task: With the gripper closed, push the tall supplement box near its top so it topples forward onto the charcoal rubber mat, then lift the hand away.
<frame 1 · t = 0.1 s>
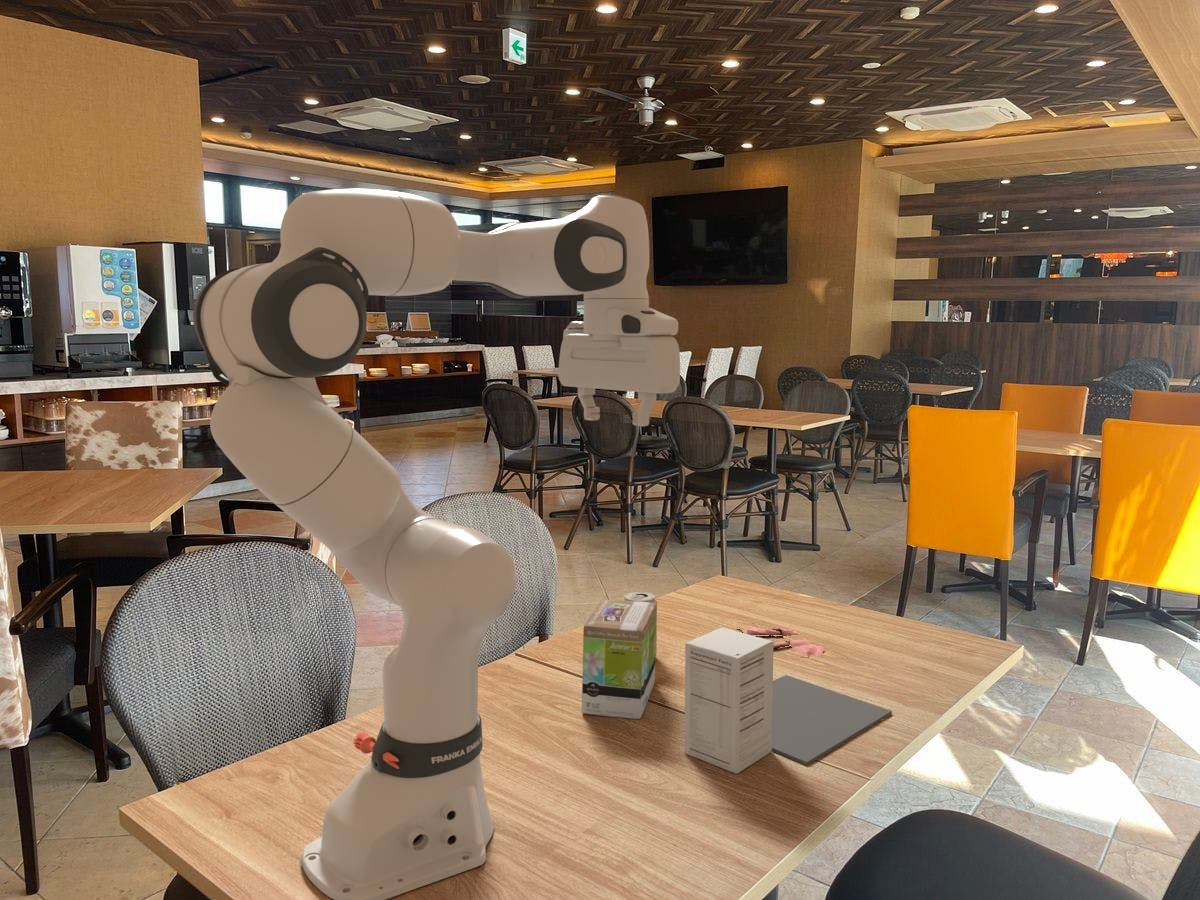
hand: (615, 422, 122), 48 cm above the table, tool pointing down, fingers open, 8 cm apart
supplement box: (727, 754, 129), on the table
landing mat: (795, 716, 140), on the table
tea box: (620, 699, 147), on the table
cloth: (768, 644, 174), on the table
beverage can: (639, 659, 164), on the table
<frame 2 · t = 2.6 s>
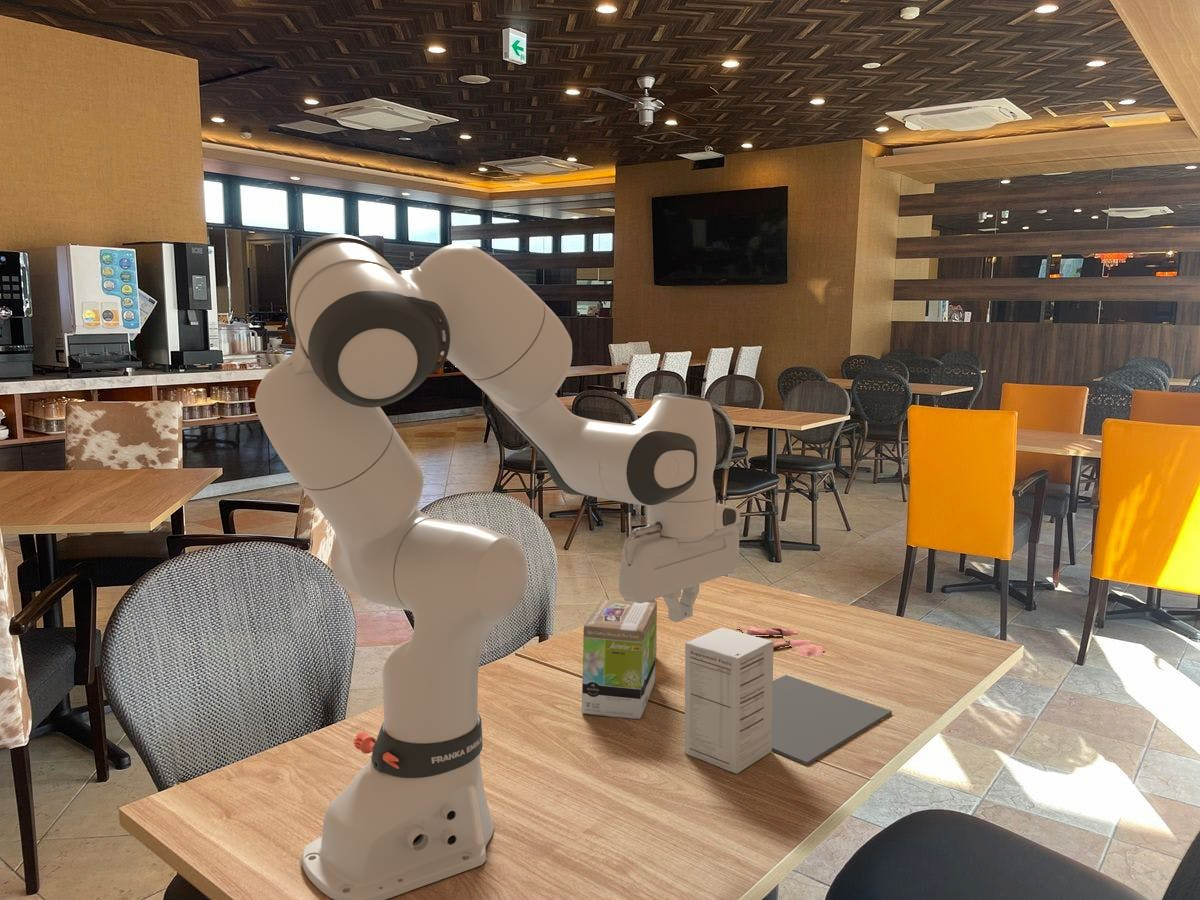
hand: (680, 618, 118), 23 cm above the table, tool pointing down, fingers closed
nothing on the table moved.
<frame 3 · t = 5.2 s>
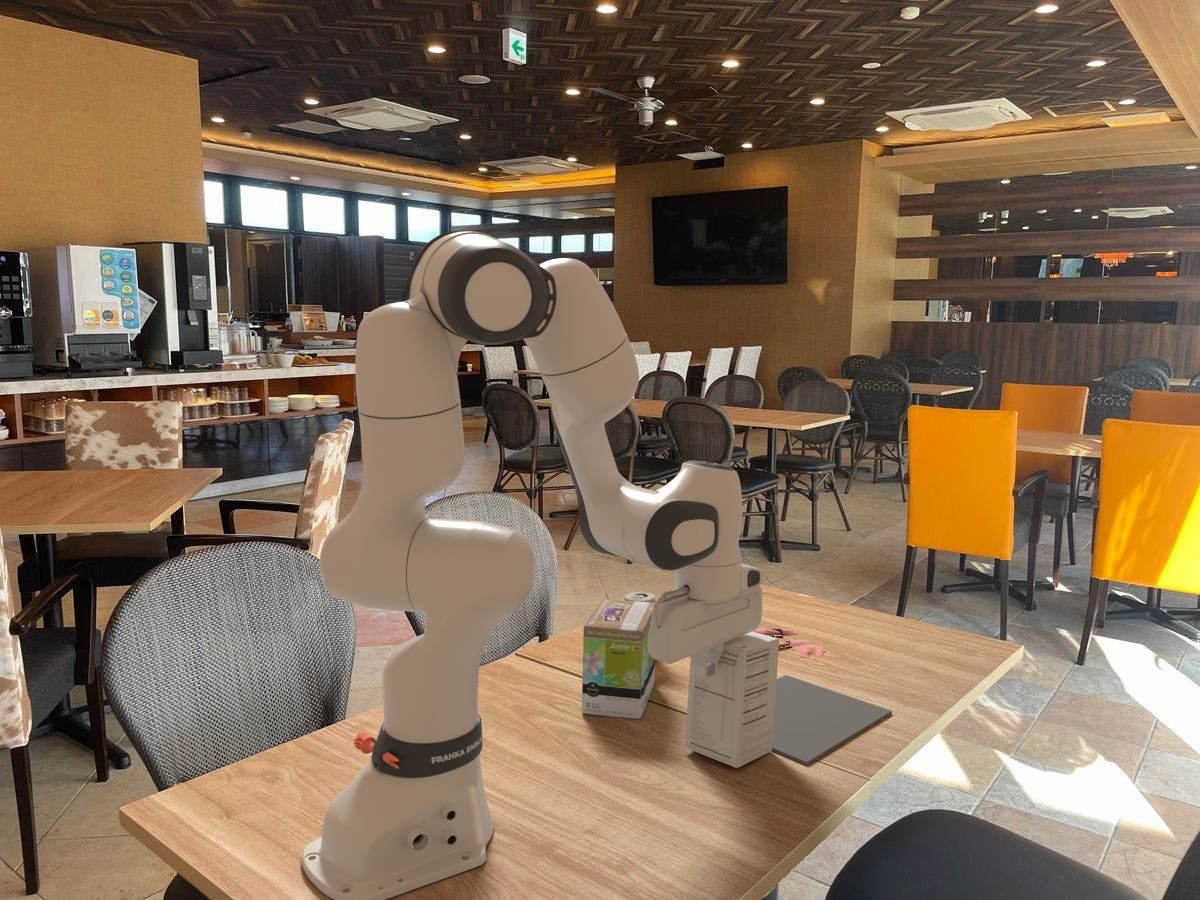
hand: (705, 675, 123), 13 cm above the table, tool pointing down, fingers closed
supplement box: (727, 751, 128), on the table, touching gripper
everything else where it was.
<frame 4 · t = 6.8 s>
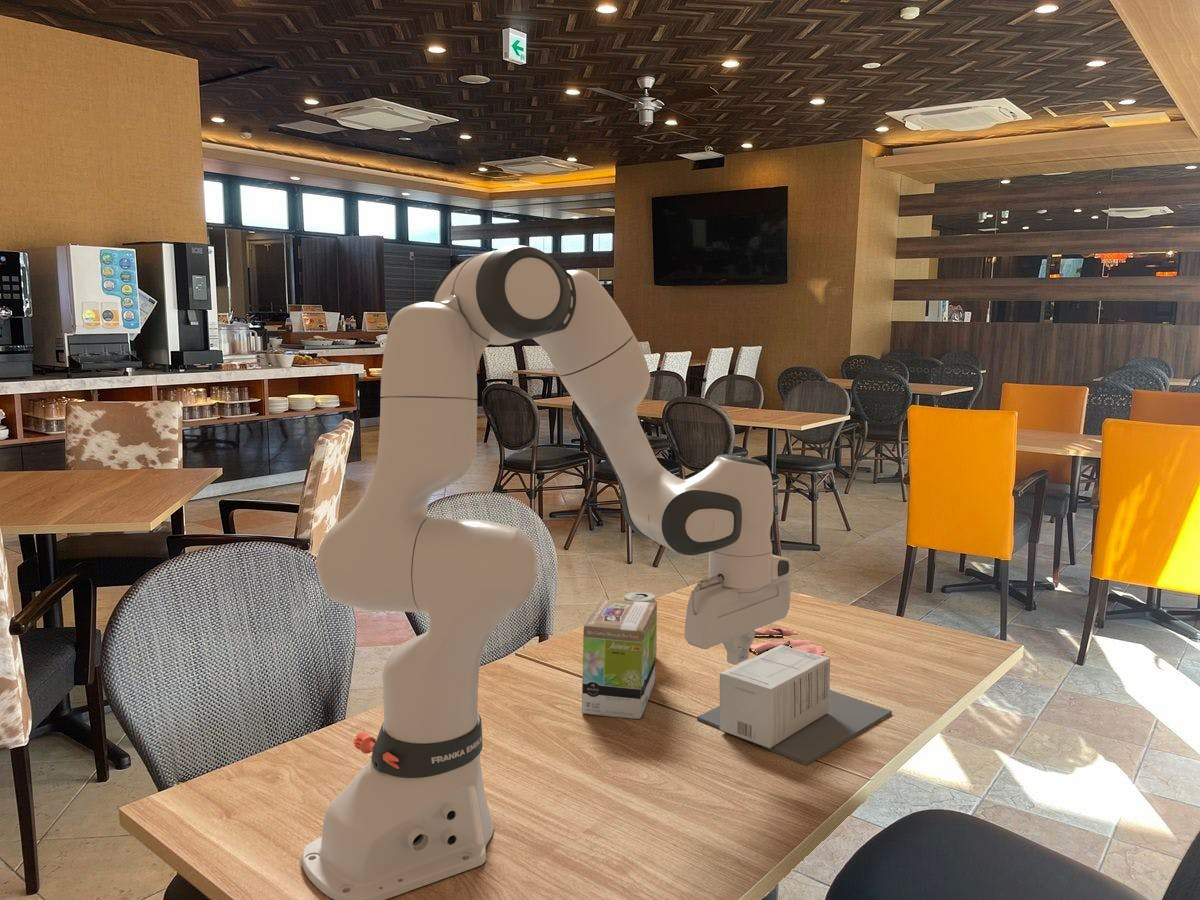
hand: (737, 661, 128), 13 cm above the table, tool pointing down, fingers closed
supplement box: (743, 710, 131), point 5 cm above the table, touching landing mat
everything else where it was.
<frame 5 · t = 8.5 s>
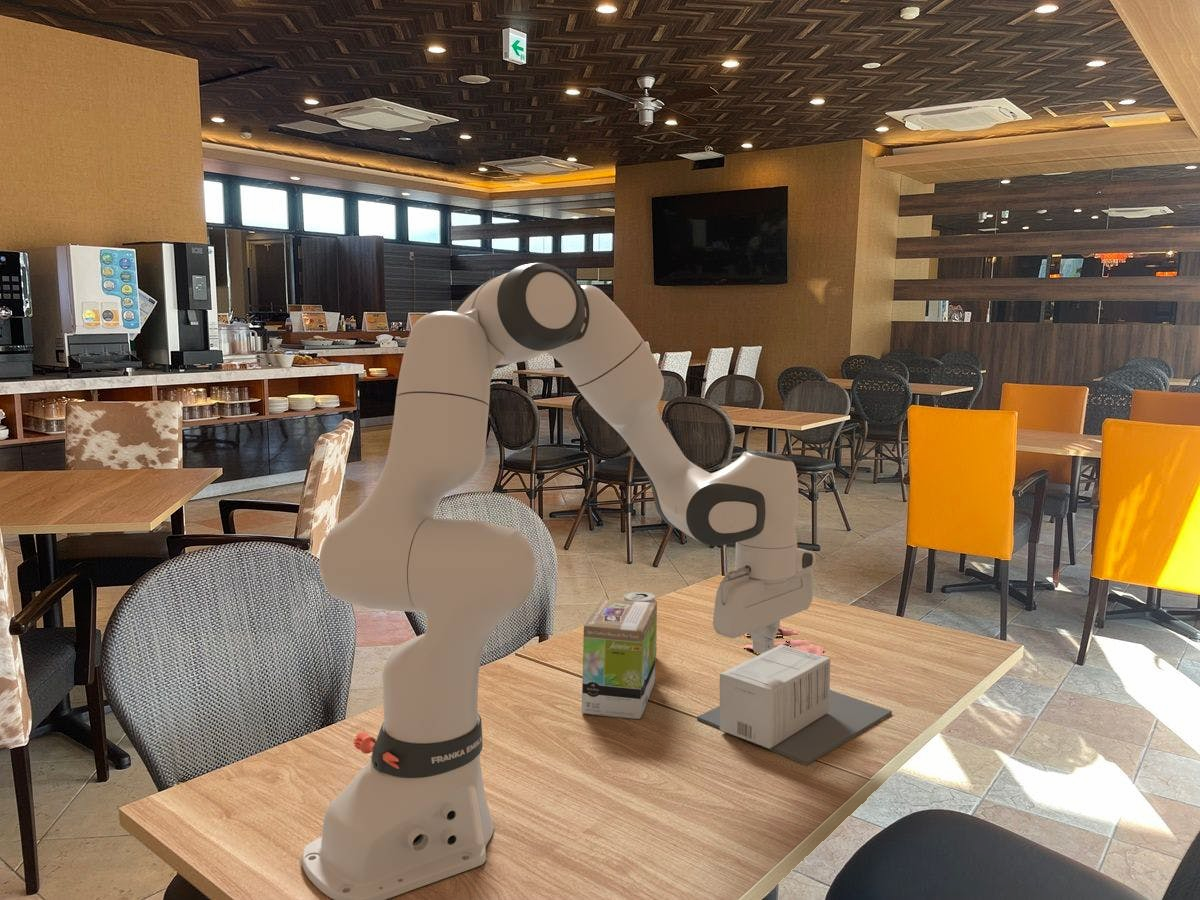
hand: (763, 650, 132), 13 cm above the table, tool pointing down, fingers closed
nothing on the table moved.
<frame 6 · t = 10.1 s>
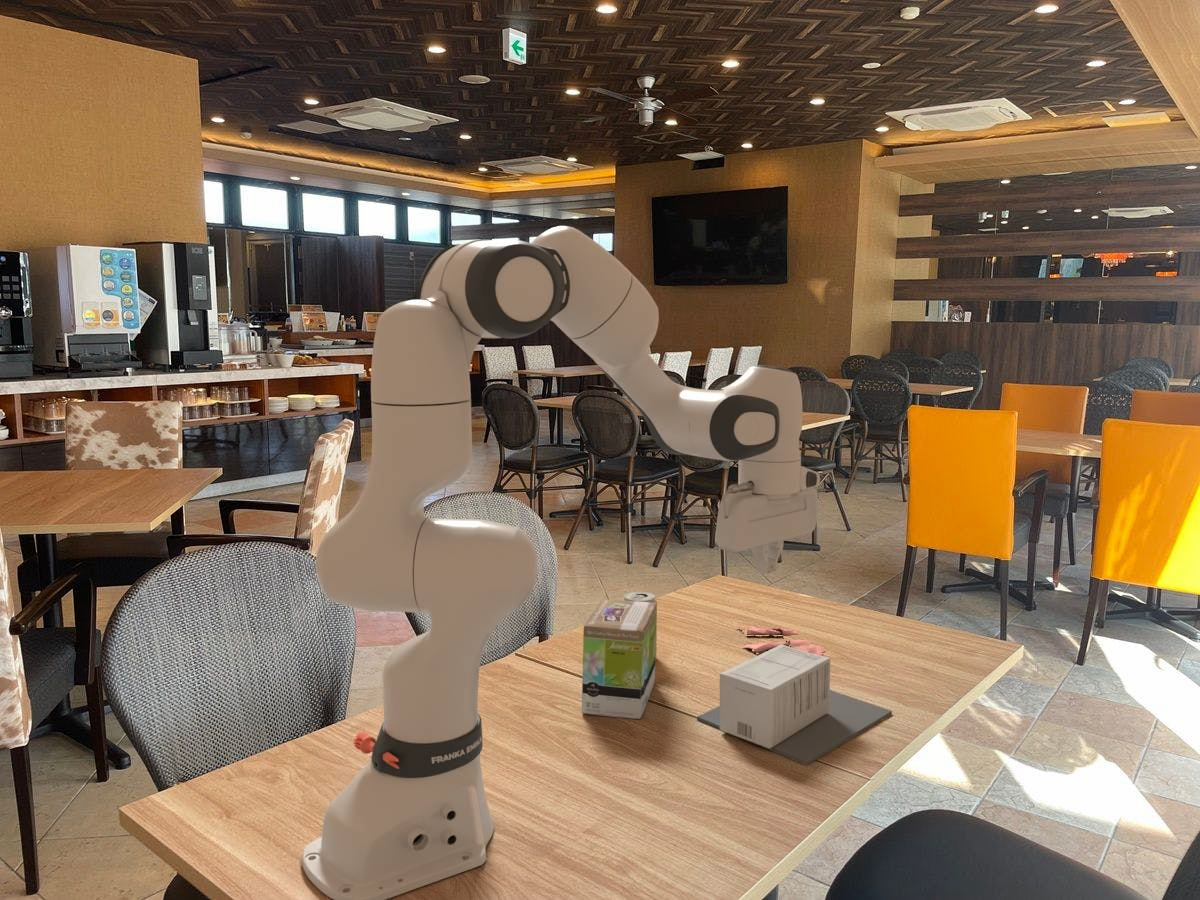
hand: (766, 571, 130), 25 cm above the table, tool pointing down, fingers closed
nothing on the table moved.
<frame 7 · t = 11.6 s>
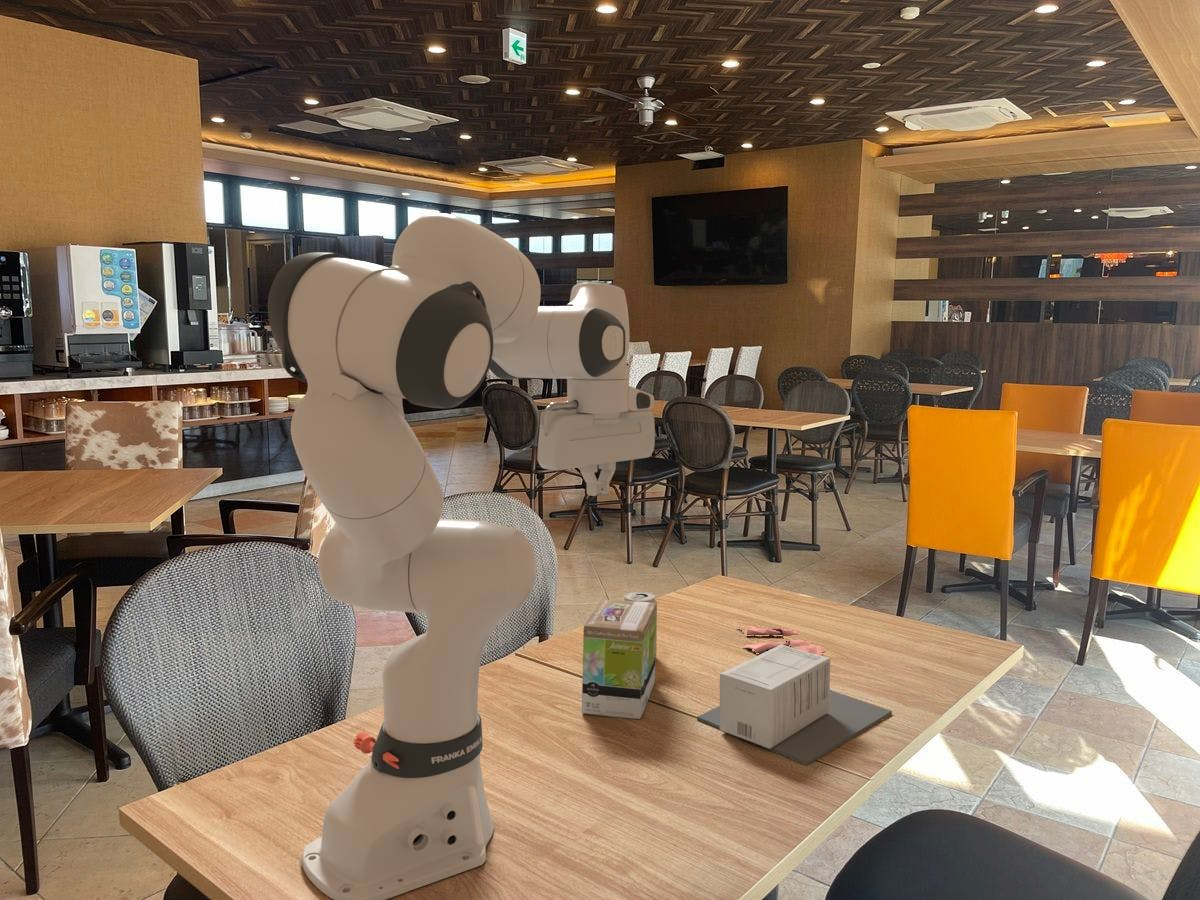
hand: (598, 494, 129), 37 cm above the table, tool pointing down, fingers closed
nothing on the table moved.
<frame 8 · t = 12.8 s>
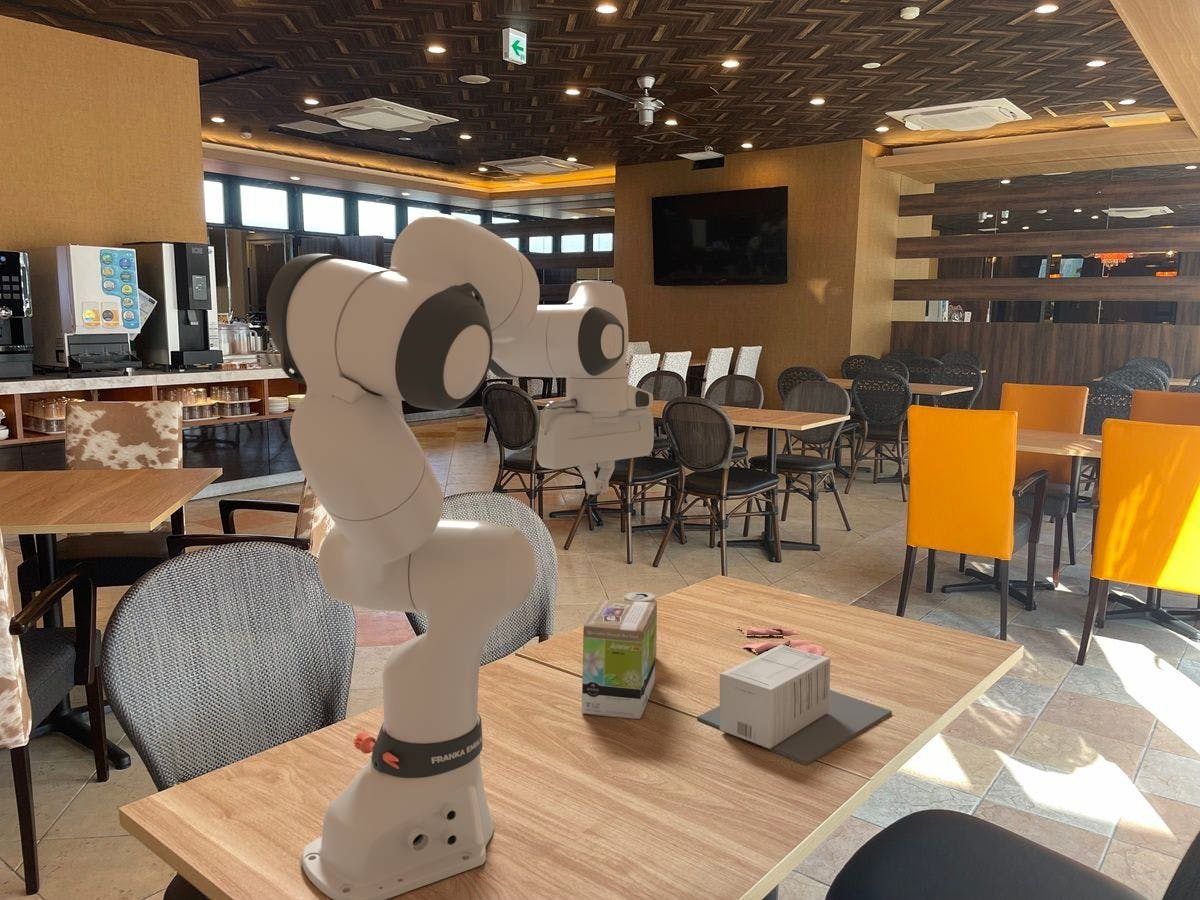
hand: (597, 492, 128), 37 cm above the table, tool pointing down, fingers closed
nothing on the table moved.
at the end: supplement box tilted 90°; supplement box touching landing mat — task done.
